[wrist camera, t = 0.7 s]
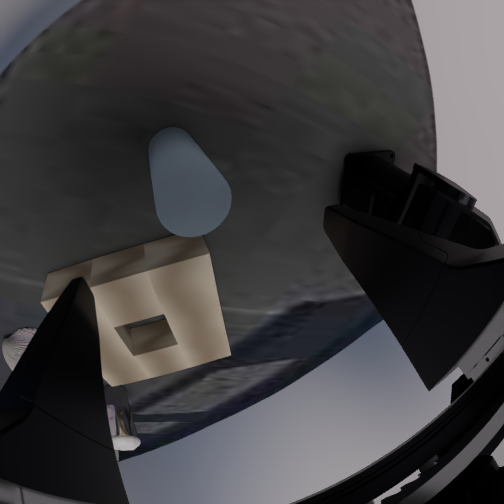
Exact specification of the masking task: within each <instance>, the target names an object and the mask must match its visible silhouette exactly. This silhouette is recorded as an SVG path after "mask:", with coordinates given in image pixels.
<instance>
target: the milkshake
mask: <svg viewBox="0 0 504 504" xmlns="http://www.w3.org/2000/svg"><path fill="white" fill-rule="evenodd" d="M104 393H105V401H106V408H107V414H108V420H109V426H110V431H111V436H112V441H113V446H114V450H115V454H116V458H117V461H118V450H122V451H124V450H134V449H135V448H137V447H138V446H139V445H140V439H139V436H138V433H137V430H136V427H135V424H134V421H133V417H132V414H131V410H130V406H129V402H128V397H127V393H126V390H125V387H123V386H121V385H118V386H113V387H112V386H111V385H107V386H105V387H104Z"/></svg>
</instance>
